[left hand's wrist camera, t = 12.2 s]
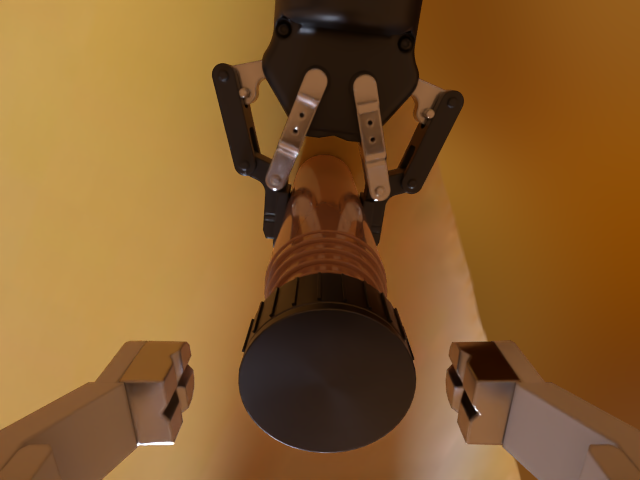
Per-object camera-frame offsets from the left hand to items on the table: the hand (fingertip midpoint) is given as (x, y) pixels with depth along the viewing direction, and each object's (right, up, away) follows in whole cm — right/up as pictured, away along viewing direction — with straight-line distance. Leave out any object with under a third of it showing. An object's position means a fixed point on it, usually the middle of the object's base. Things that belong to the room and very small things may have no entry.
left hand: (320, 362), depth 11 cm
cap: (0, 0, 0) cm, 1 cm away
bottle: (0, +7, +20) cm, 22 cm away
